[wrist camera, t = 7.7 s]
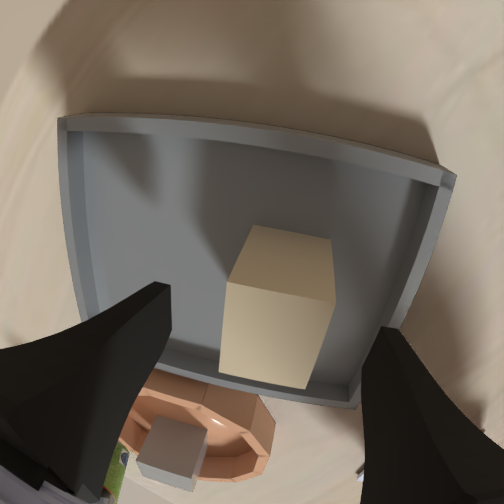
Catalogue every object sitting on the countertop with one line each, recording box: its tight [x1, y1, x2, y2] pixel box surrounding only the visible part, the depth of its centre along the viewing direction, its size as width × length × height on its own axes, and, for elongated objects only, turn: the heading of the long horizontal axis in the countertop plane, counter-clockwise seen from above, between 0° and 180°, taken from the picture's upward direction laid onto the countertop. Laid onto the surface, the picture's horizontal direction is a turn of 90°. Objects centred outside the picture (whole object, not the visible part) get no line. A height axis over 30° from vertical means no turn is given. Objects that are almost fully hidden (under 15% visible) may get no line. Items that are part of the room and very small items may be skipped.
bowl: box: [118, 368, 276, 482], centre depth 20 cm, size 12×12×3 cm
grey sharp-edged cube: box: [136, 415, 208, 492], centre depth 20 cm, size 4×3×4 cm
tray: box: [57, 113, 457, 410], centre depth 14 cm, size 16×13×2 cm
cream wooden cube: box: [219, 225, 336, 389], centre depth 12 cm, size 4×3×4 cm
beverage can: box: [66, 440, 129, 504], centre depth 22 cm, size 6×7×12 cm
